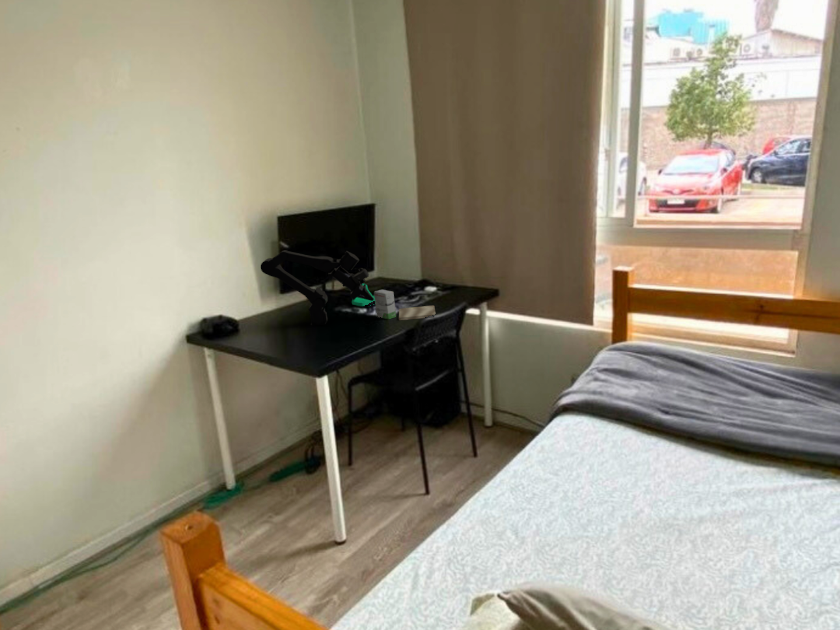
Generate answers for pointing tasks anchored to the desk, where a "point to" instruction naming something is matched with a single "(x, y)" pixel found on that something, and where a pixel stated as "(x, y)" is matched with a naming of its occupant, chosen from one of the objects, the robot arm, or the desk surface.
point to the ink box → (385, 304)
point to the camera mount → (362, 300)
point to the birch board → (416, 312)
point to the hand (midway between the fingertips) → (373, 299)
